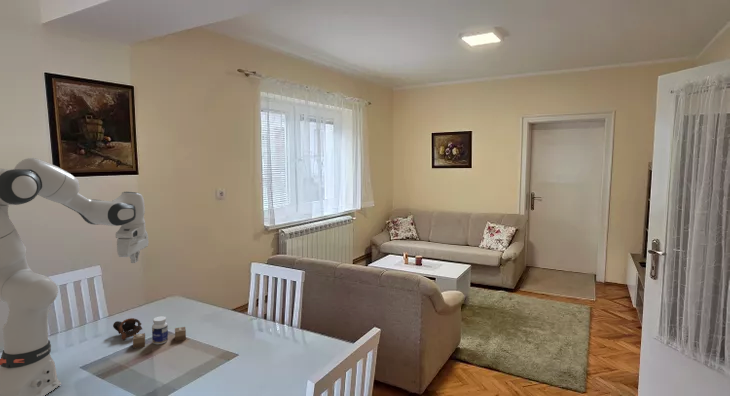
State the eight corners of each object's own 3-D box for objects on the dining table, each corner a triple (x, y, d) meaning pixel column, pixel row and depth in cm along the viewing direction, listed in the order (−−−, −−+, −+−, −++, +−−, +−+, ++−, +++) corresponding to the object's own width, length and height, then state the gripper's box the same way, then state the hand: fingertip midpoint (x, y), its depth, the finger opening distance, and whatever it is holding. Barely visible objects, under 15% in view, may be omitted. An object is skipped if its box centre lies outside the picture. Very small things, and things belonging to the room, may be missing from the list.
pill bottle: (149, 343, 163) (148, 320, 162) (160, 337, 168) (159, 314, 167) (160, 345, 161) (159, 322, 160) (171, 339, 167) (170, 316, 166)
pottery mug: (146, 330, 176) (146, 318, 171) (134, 348, 168) (134, 336, 163) (118, 324, 175) (118, 311, 170) (105, 342, 167) (104, 329, 162)
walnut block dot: (144, 346, 160) (144, 336, 160) (133, 348, 159) (132, 338, 158) (145, 342, 164) (144, 332, 163) (134, 344, 162) (133, 334, 162)
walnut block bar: (185, 339, 167) (185, 329, 167) (175, 341, 166) (175, 331, 165) (185, 335, 171) (185, 326, 171) (175, 337, 169) (174, 327, 169)
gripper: (136, 225, 177) (138, 256, 179) (113, 234, 157) (114, 268, 159) (151, 225, 178) (152, 255, 180) (130, 234, 158) (131, 268, 159)
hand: (134, 262), depth 169 cm, fingers closed
